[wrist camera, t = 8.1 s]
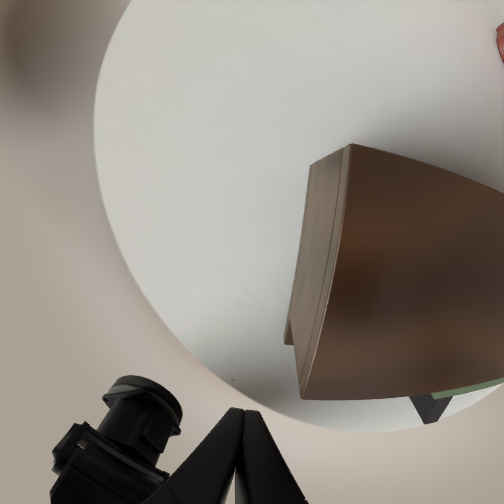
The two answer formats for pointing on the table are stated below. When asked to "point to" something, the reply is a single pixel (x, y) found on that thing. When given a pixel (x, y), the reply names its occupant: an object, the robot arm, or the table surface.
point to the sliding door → (443, 400)
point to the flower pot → (501, 39)
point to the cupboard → (396, 279)
